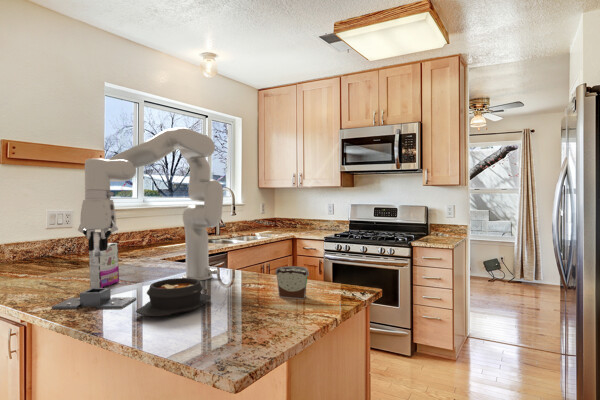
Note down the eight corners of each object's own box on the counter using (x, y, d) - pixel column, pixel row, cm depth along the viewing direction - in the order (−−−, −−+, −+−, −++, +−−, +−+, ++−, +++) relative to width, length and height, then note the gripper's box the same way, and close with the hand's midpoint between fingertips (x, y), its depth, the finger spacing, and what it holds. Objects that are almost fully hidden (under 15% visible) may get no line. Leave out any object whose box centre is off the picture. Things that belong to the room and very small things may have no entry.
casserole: (168, 326, 104) (167, 296, 104) (121, 317, 112) (120, 289, 112) (224, 302, 127) (223, 277, 126) (181, 296, 135) (181, 272, 135)
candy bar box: (108, 281, 158) (108, 242, 158) (119, 282, 157) (118, 242, 157) (88, 288, 147) (88, 246, 147) (100, 289, 146) (99, 246, 146)
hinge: (136, 299, 131) (135, 286, 131) (121, 308, 121) (121, 294, 121) (71, 300, 131) (71, 287, 131) (52, 308, 121) (51, 294, 121)
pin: (105, 255, 129) (104, 231, 129) (100, 256, 126) (99, 232, 126) (96, 255, 129) (96, 231, 129) (91, 256, 126) (91, 232, 126)
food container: (313, 294, 135) (313, 266, 134) (308, 299, 129) (308, 270, 129) (281, 292, 139) (281, 265, 138) (275, 296, 133) (274, 268, 133)
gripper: (127, 195, 131) (127, 248, 131) (80, 195, 131) (80, 248, 131) (116, 195, 123) (116, 252, 123) (66, 195, 124) (67, 252, 124)
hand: (98, 249), depth 127 cm, fingers closed on pin, 3 cm apart
